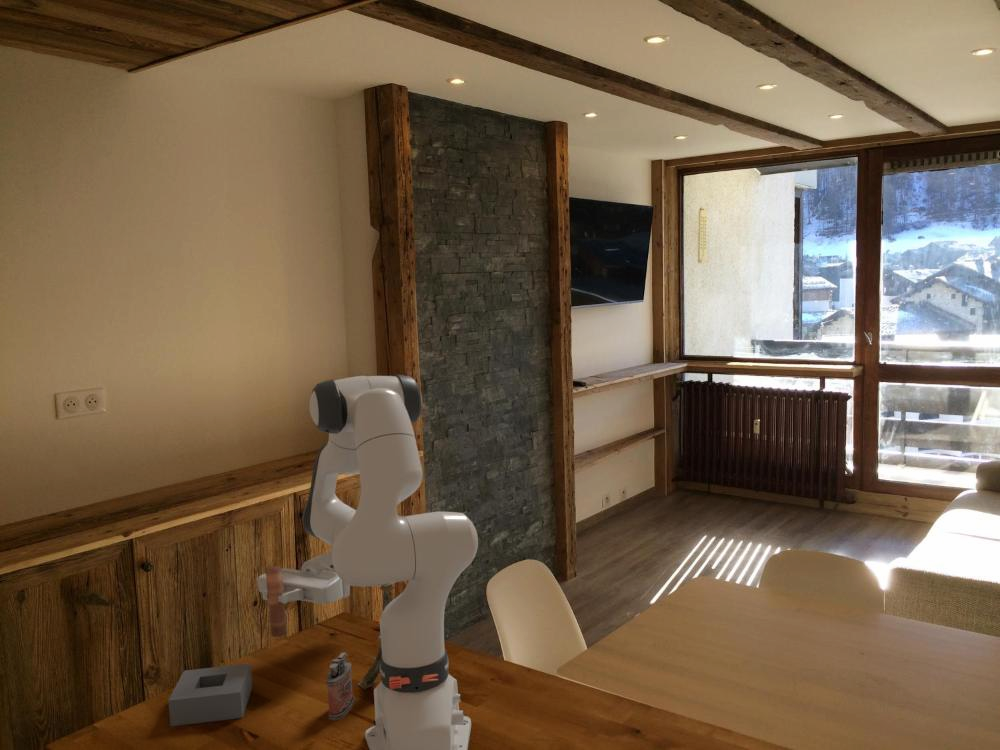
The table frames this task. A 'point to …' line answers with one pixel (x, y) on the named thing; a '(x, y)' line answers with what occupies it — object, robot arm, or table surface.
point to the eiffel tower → (375, 668)
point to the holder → (210, 694)
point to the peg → (276, 601)
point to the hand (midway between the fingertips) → (272, 598)
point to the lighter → (339, 688)
